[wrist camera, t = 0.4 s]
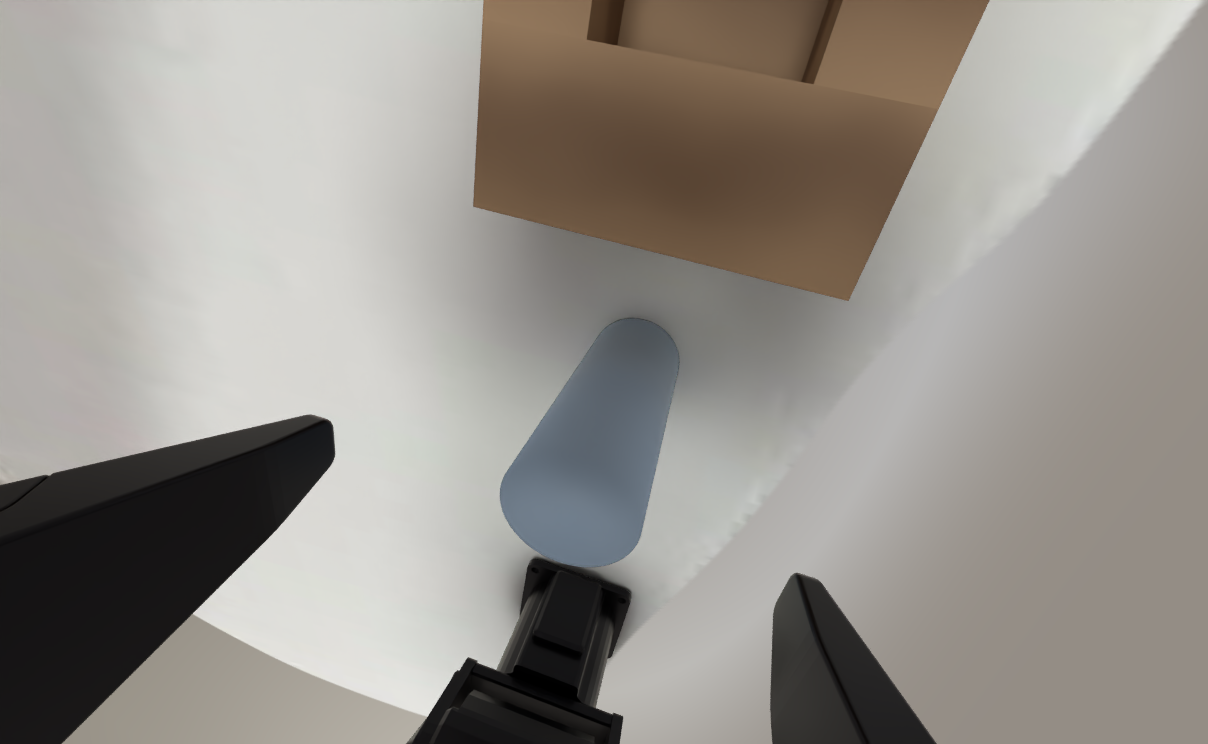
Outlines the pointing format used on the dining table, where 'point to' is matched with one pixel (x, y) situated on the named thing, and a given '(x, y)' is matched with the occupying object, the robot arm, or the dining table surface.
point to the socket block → (715, 123)
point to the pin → (596, 450)
